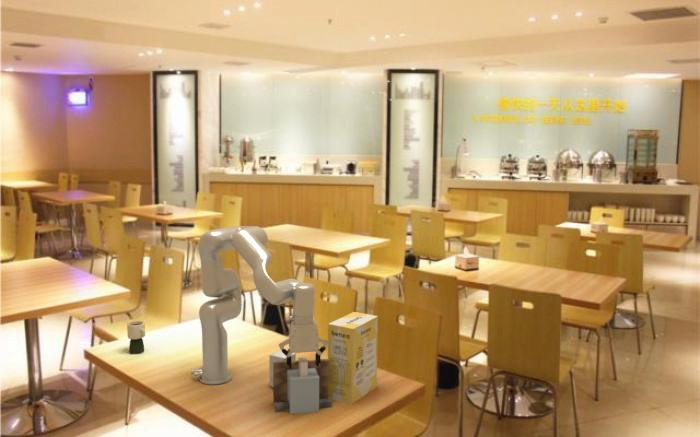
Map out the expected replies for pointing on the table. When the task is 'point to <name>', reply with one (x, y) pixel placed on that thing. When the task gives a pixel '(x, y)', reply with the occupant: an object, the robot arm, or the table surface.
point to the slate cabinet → (303, 388)
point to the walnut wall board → (281, 383)
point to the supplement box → (277, 357)
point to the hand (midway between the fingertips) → (303, 365)
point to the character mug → (136, 336)
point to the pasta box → (352, 356)
